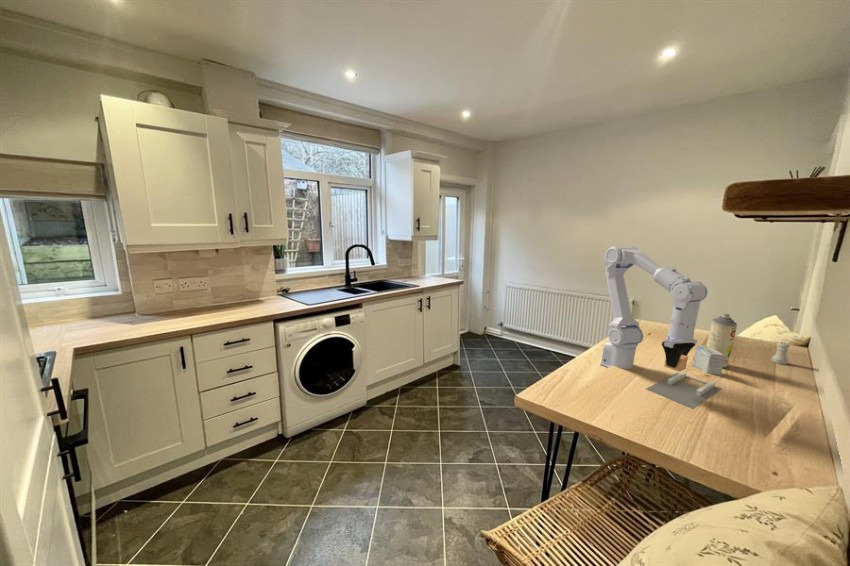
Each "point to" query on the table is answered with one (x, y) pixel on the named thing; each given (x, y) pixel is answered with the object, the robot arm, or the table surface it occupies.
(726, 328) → the aerosol can
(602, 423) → the table surface
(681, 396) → the channel
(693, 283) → the robot arm
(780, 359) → the rook chess piece
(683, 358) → the block
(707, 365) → the medicine box
